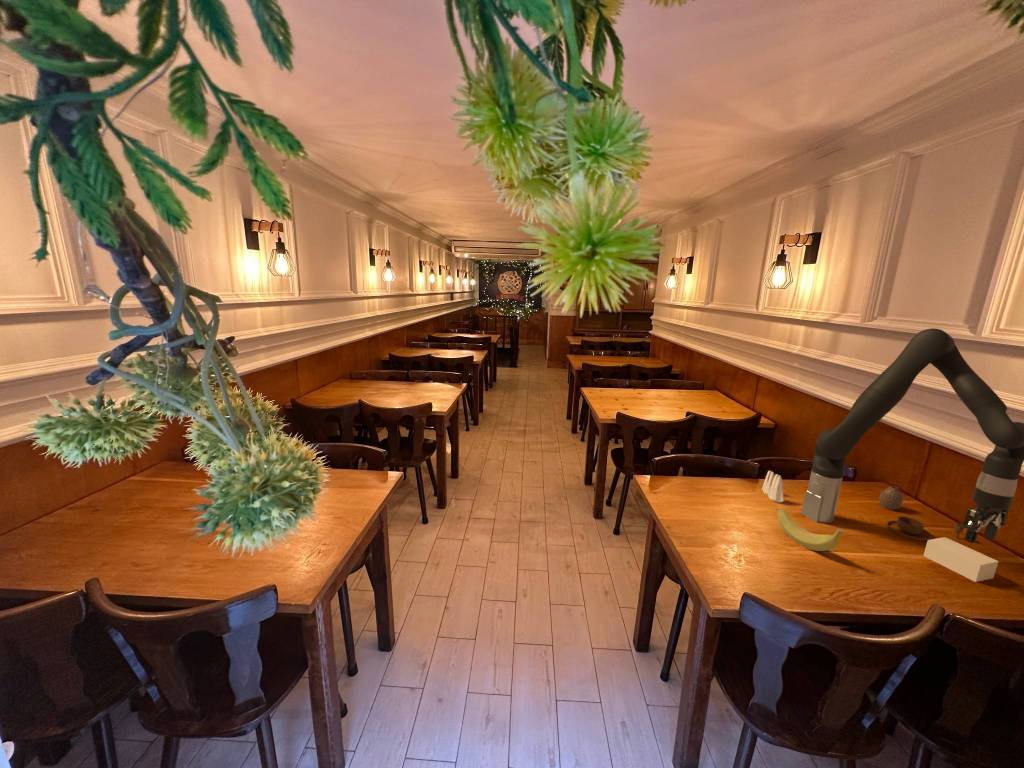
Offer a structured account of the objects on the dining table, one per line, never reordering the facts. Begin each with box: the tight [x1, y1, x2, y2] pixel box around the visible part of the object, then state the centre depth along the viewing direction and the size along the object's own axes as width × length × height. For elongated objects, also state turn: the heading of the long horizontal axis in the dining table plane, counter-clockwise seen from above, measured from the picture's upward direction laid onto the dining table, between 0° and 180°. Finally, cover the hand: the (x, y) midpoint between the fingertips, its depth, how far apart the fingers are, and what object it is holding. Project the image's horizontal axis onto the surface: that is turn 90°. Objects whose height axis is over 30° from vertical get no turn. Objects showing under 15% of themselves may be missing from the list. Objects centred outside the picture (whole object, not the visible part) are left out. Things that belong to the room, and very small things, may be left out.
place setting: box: [886, 515, 966, 546], centre depth 150 cm, size 18×20×6 cm
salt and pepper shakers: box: [761, 470, 785, 504], centre depth 174 cm, size 12×4×11 cm, turn 170°
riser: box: [923, 536, 999, 583], centre depth 133 cm, size 8×13×6 cm, turn 16°
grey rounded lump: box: [878, 485, 904, 511], centre depth 170 cm, size 7×7×9 cm
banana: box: [777, 507, 845, 552], centre depth 140 cm, size 14×6×20 cm
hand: (979, 539), depth 128 cm, fingers open, 8 cm apart
